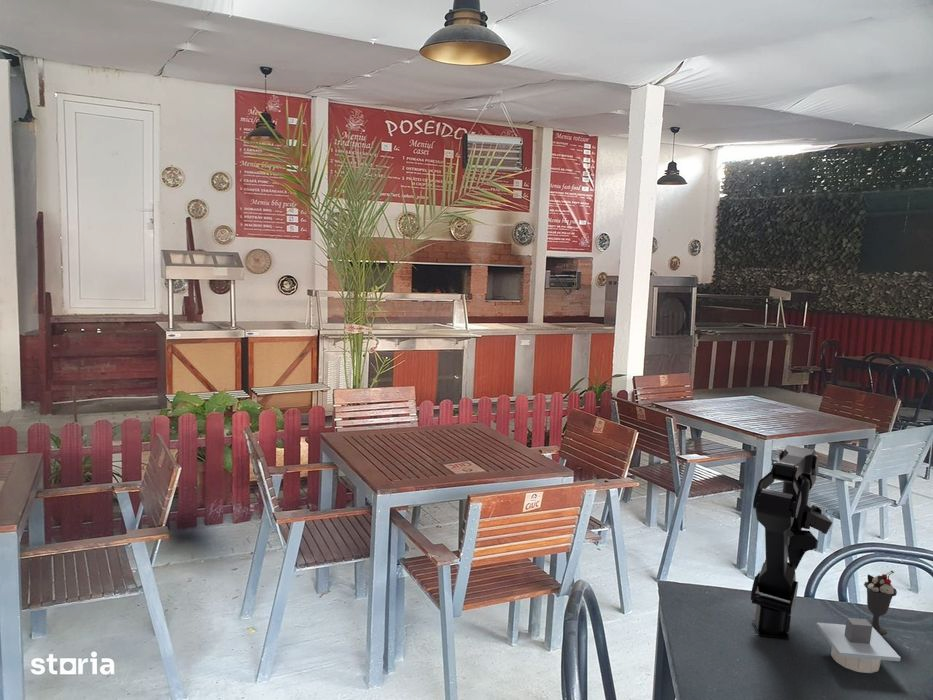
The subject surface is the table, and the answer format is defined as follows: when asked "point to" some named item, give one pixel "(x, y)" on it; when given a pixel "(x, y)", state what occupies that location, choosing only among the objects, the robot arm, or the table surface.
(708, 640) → the table surface
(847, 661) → the bowl
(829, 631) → the lid
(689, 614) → the table surface
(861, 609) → the table surface
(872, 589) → the sundae
